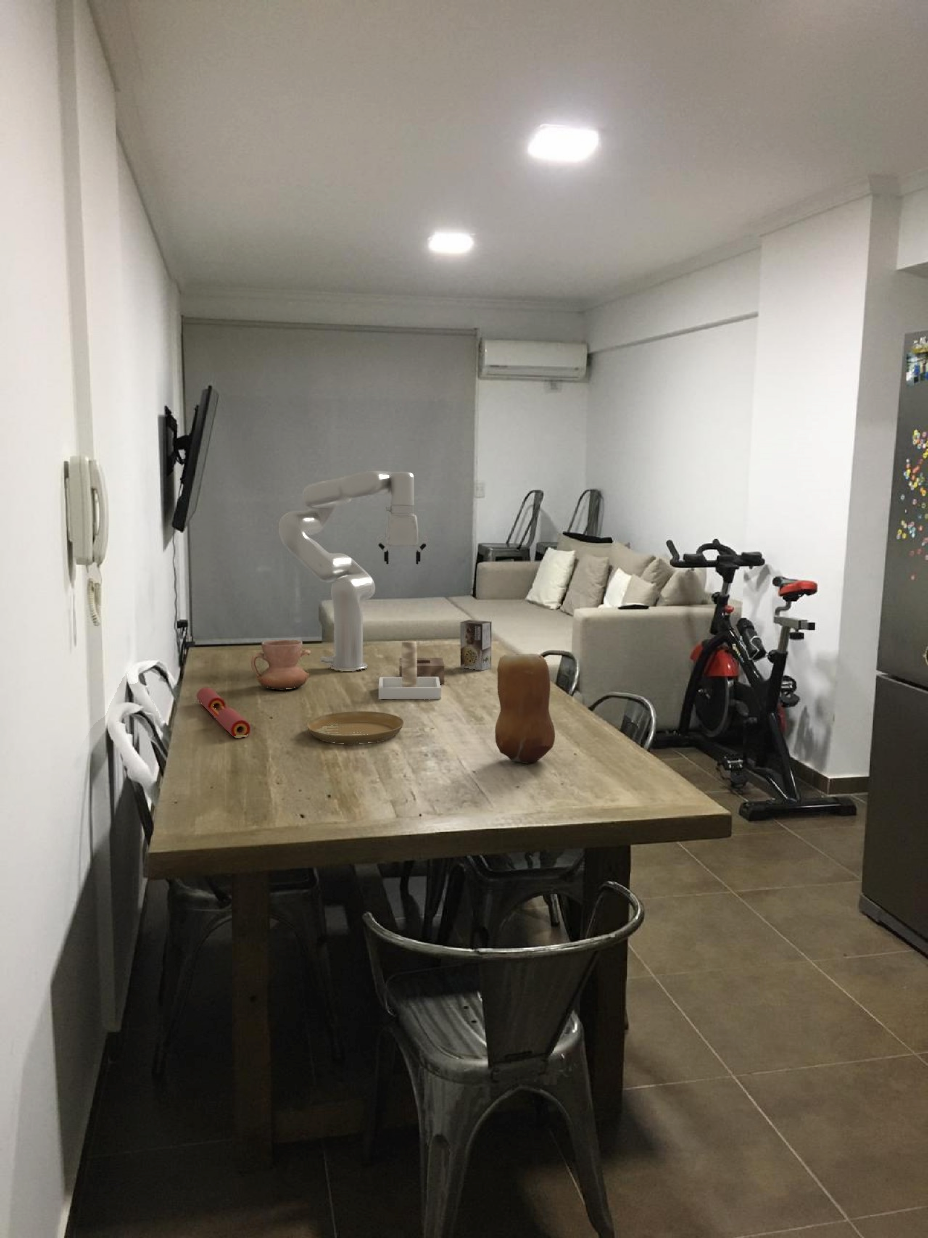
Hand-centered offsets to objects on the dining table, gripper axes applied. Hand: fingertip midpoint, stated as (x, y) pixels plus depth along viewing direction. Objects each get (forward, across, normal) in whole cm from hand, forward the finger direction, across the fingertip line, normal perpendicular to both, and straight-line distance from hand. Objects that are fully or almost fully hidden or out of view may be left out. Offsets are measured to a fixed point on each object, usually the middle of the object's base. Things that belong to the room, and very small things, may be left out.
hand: (402, 563), depth 313 cm
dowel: (+36, +2, -30) cm, 47 cm away
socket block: (+36, +6, -10) cm, 38 cm away
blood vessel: (+37, -48, -60) cm, 85 cm away
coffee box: (+36, +25, +10) cm, 45 cm away
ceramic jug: (+37, -37, -20) cm, 56 cm away
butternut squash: (+36, +27, -102) cm, 112 cm away
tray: (+36, +2, -30) cm, 47 cm away
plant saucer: (+37, -12, -76) cm, 85 cm away
